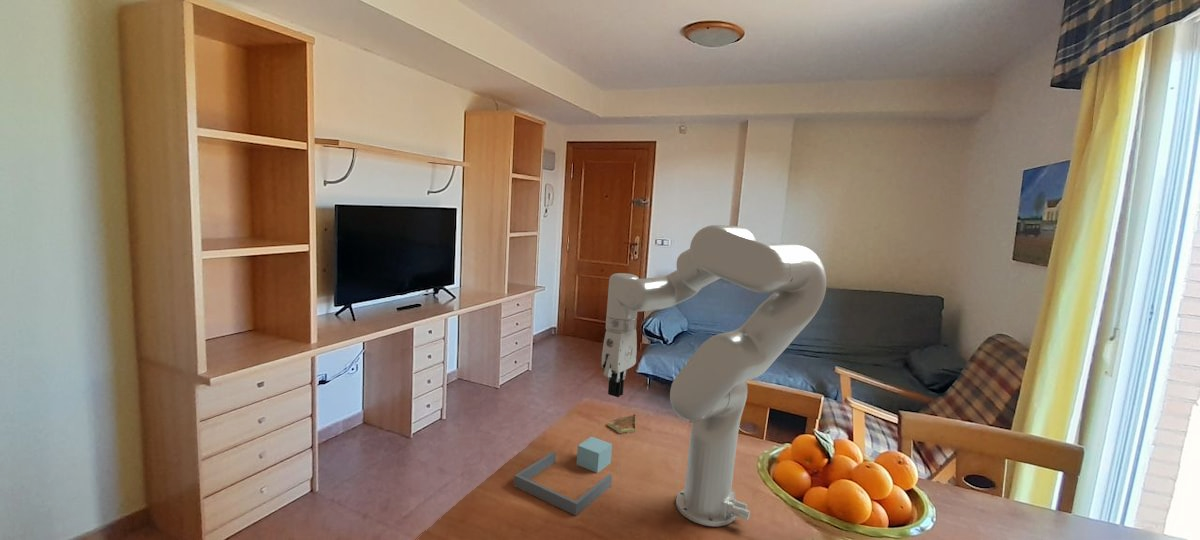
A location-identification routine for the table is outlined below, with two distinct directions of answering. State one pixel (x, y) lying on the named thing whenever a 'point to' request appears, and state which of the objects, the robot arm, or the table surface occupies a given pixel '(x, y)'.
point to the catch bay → (551, 496)
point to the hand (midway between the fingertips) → (615, 394)
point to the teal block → (594, 454)
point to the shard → (623, 424)
